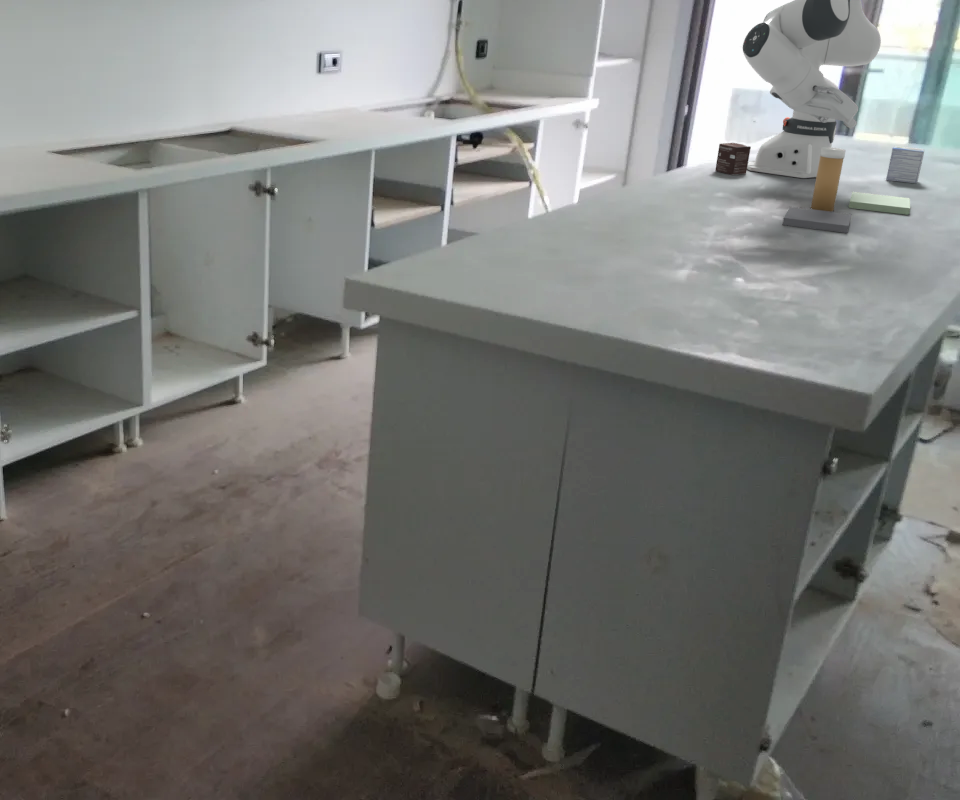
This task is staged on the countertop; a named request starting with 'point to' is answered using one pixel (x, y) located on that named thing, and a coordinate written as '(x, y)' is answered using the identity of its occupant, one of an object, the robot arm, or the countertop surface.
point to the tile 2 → (880, 203)
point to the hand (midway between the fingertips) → (838, 122)
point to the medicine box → (905, 164)
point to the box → (732, 158)
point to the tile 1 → (817, 219)
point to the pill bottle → (827, 178)
